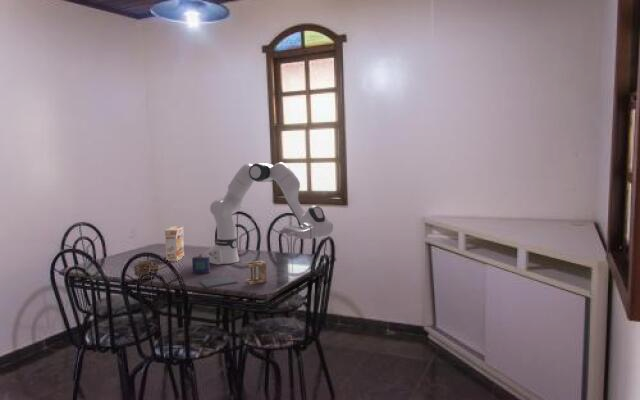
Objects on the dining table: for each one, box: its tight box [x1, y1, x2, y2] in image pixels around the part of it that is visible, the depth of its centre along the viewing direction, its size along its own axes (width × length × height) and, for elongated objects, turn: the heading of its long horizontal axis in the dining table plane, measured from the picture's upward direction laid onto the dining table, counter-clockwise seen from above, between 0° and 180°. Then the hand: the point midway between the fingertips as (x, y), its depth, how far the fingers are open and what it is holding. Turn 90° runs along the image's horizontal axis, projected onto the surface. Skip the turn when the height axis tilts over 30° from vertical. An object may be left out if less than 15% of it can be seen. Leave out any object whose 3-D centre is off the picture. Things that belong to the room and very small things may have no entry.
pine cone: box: [133, 259, 168, 280], centre depth 248 cm, size 22×10×10 cm, turn 148°
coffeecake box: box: [164, 225, 185, 263], centre depth 288 cm, size 15×7×20 cm, turn 179°
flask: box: [191, 253, 211, 275], centre depth 255 cm, size 9×3×11 cm, turn 95°
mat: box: [199, 276, 238, 289], centre depth 237 cm, size 16×11×1 cm
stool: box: [245, 260, 267, 285], centre depth 237 cm, size 9×6×10 cm, turn 121°
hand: (282, 233), depth 243 cm, fingers open, 8 cm apart
